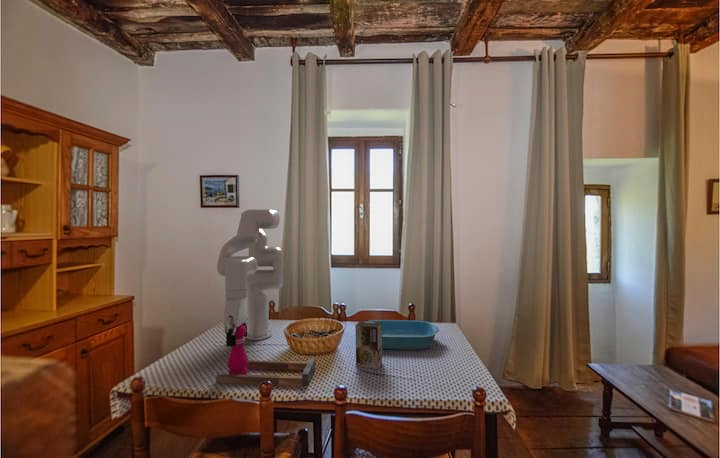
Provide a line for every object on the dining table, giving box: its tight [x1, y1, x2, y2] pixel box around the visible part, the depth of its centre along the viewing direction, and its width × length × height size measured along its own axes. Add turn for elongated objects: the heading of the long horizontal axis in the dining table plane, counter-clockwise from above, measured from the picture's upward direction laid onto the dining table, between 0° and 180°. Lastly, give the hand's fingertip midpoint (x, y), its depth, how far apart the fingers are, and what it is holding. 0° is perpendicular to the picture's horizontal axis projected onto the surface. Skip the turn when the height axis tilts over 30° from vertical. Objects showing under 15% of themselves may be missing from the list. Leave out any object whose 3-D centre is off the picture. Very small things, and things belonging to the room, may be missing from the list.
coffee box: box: [354, 320, 383, 370], centre depth 130 cm, size 9×6×16 cm
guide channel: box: [215, 357, 317, 387], centre depth 121 cm, size 13×32×4 cm, turn 86°
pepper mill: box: [226, 325, 249, 375], centre depth 122 cm, size 7×7×20 cm
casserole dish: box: [368, 319, 440, 350], centre depth 153 cm, size 37×22×7 cm, turn 86°
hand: (237, 341), depth 121 cm, fingers open, 9 cm apart
